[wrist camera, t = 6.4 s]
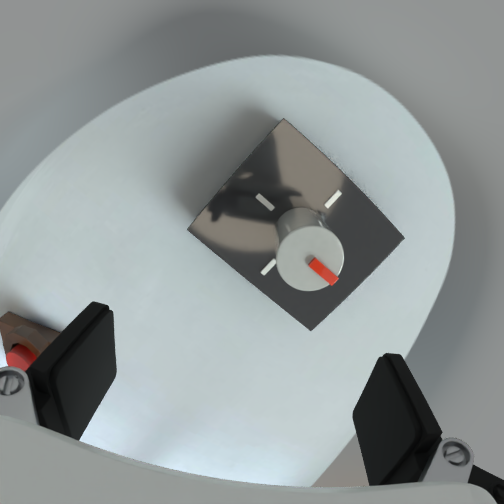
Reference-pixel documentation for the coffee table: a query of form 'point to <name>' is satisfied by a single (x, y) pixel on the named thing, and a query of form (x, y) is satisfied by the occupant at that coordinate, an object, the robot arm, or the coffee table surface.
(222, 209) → the hob panel
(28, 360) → the power button
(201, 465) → the coffee table surface
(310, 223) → the hob knob
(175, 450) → the coffee table surface
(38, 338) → the power block
